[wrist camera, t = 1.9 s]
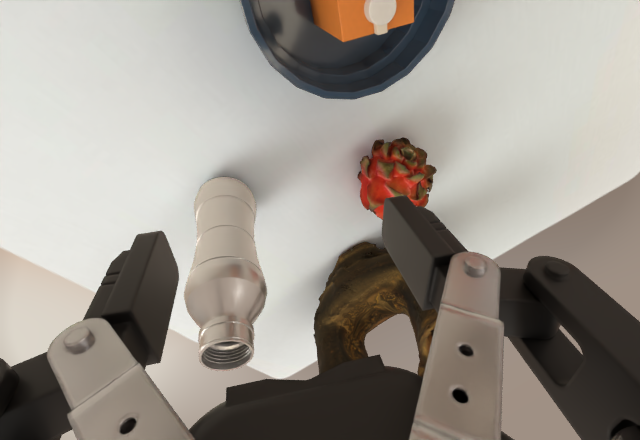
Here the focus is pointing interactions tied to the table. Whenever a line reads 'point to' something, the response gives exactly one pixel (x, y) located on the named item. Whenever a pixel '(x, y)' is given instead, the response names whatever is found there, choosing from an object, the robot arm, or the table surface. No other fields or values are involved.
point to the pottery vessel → (365, 307)
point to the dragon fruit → (394, 175)
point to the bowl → (341, 47)
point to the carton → (361, 16)
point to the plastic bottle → (225, 274)
